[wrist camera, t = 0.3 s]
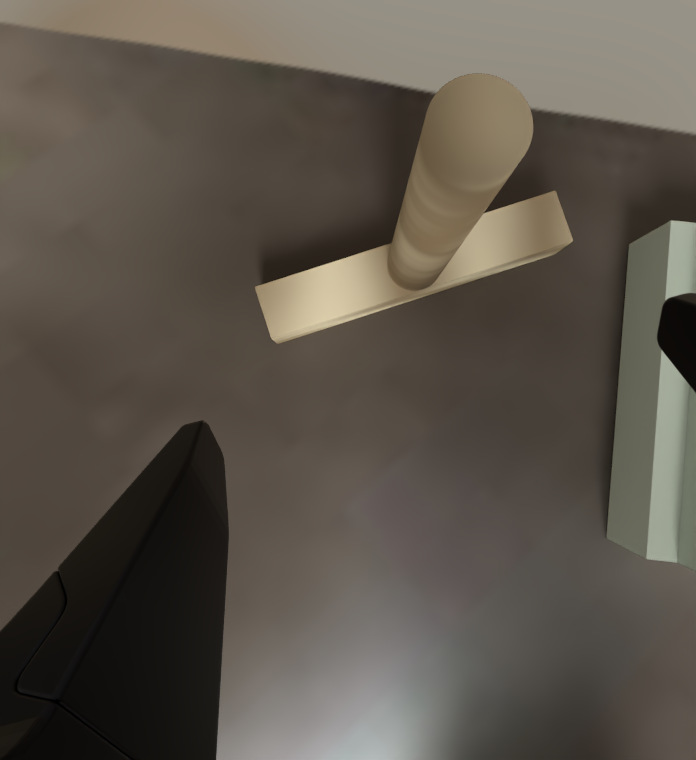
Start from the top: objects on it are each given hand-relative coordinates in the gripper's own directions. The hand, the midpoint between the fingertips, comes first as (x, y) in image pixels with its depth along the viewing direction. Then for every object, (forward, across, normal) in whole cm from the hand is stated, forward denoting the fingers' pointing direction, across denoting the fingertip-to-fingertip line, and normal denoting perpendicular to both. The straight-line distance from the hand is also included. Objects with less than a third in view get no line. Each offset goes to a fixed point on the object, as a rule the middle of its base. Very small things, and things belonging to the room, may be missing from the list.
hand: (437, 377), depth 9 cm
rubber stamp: (+14, -3, +4) cm, 15 cm away
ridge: (+9, -13, +11) cm, 19 cm away
